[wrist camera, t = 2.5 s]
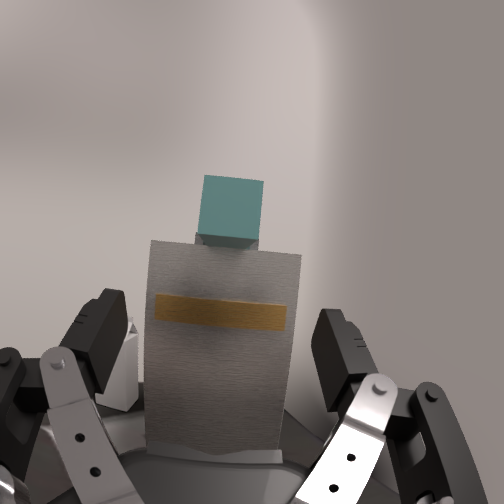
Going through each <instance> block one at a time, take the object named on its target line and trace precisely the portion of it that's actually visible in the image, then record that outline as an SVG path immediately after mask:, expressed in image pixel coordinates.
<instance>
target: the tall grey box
mask: <svg viewBox="0 0 504 504" xmlns="http://www.w3.org/2000/svg"><path fill="white" fill-rule="evenodd" d="M197 233H198V232H196V235H195V244H186V243H176V242H165V241H155V240H151V247H150V257H149V267H148V278H147V292H146V308H145V329H144V411H145V431H146V446H147V448H148V443H149V440H152V441H158V442H164V443H171V444H178V445H183V446H186V447H189V448H191V449H194V450H198V451H201V452H204V453H207V454H210V455H223V454H230V453H235V452H241V451H246V450H277V447H278V441H279V435H280V429H281V423H282V417H283V410H284V403H285V397H286V390H287V383H288V375H289V368H290V360H291V352H292V344H293V335H294V327H295V317H296V308H297V299H298V289H299V278H300V267H301V255H298V254H288V253H278V252H267V251H258V244H259V239H258V240H257V241H256V242H254V243H253V244H252V245H251V246H249V247H248V248H247V249H237V248H227V247H217V246H207V245H206V244H205V242H204V241H203V240H202V239H201V237H200V236H199V235H198V234H197Z"/></svg>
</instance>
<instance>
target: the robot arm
mask: <svg viewBox="0 0 504 504" xmlns="http://www.w3.org/2000/svg"><path fill="white" fill-rule="evenodd" d="M127 330H128V317H127V311H126V303H125V296H124V292H123V291H121V290H114V289H107V288H105V289H104V290H103V292H102V293H101V295H100V297H99V298H98V299H92V300H90V301H89V302H88V303H86V304H85V305H84V306H83V307H82V309H81V311H80V312H79V314H78V316H77V317H76V318H75V320H74V322H73V323H72V325H71V326H70V328H69V329H68V331H67V333H66V334H65V336H64V338H63V339H62V341H61V343H60V345H59V346H58V347H53V348H50V349H48V350H47V351H46V352H44V354H43V355H42V356H41V358H22V357H21V355H20V353H19V351H18V350H16V349H14V348H11V347H7V348H3V349H0V504H31V500H30V495H29V491H28V489H27V487H26V485H25V484H24V480H25V476H26V472H27V468H28V464H29V461H30V457H31V454H32V450H33V447H34V444H35V441H36V438H37V434H38V431H39V428H40V425H41V423H42V420H43V417H44V414H45V413H48V417H49V421H50V424H51V427H52V431H53V434H54V437H55V440H56V443H57V446H58V448H59V451H60V454H61V456H62V459H63V462H64V464H65V467H66V469H67V472H68V474H69V476H70V479H71V481H72V483H73V485H74V486H73V487H72V488H70V489H69V490H67V491H66V492H64V493H63V494H61V495H60V496H58V497H56V498H55V499H53V500H52V501H50V502H48V503H47V504H355V503H356V501H357V500H358V498H359V496H360V494H361V492H362V490H363V488H364V486H365V484H366V482H367V480H368V478H369V476H370V474H371V472H372V469H373V467H374V465H375V463H376V460H377V458H378V456H379V454H380V451H381V449H382V447H383V444H384V441H385V439H386V442H387V446H388V450H389V453H390V457H391V461H392V465H393V469H394V473H395V477H396V481H397V486H398V490H399V495H400V499H401V504H488V502H487V498H486V495H485V492H484V489H483V486H482V483H481V480H480V477H479V474H478V471H477V468H476V465H475V463H474V460H473V458H472V455H471V452H470V450H469V447H468V445H467V443H466V440H465V437H464V435H463V432H462V430H461V428H460V425H459V423H458V421H457V418H456V416H455V414H454V412H453V410H452V407H451V405H450V403H449V401H448V399H447V397H446V395H445V393H444V391H443V390H442V388H441V387H439V386H438V385H436V384H434V383H432V382H423V383H421V384H420V385H419V386H418V387H417V388H416V390H415V391H414V390H407V389H402V388H397V386H396V384H395V383H394V382H393V380H391V379H390V378H389V377H387V376H385V375H383V374H379V373H378V370H377V368H376V366H375V363H374V361H373V359H372V357H371V354H370V352H369V350H368V348H366V343H365V341H364V340H363V337H362V335H361V333H360V330H359V329H358V328H357V327H356V326H355V325H354V324H353V323H352V322H348V321H347V322H346V320H345V318H344V315H343V313H342V311H341V310H340V309H322V310H321V312H320V314H319V318H318V321H317V324H316V327H315V330H314V333H313V336H312V341H311V348H312V353H313V357H314V361H315V365H316V368H317V372H318V376H319V380H320V384H321V388H322V392H323V395H324V400H325V404H326V408H327V412H338V416H339V420H338V422H337V424H336V425H335V427H334V429H333V430H332V432H331V434H330V435H329V437H328V439H327V440H326V442H325V444H324V445H323V447H322V448H321V450H320V451H319V453H318V454H317V456H316V457H315V459H314V460H313V462H312V463H311V464H310V466H309V467H306V466H304V465H302V464H301V463H298V462H296V461H293V460H290V459H286V458H282V451H281V450H246V451H241V452H235V453H230V454H223V455H210V454H207V453H204V452H201V451H198V450H194V449H191V448H189V447H186V446H183V445H178V444H171V443H164V442H158V441H152V440H149V443H148V448H140V449H134V450H130V451H127V452H125V453H122V454H120V455H119V453H118V451H117V449H116V448H115V446H114V444H113V442H112V440H111V438H110V436H109V434H108V432H107V430H106V428H105V426H104V424H103V422H102V419H101V417H100V415H99V413H98V411H97V408H96V406H95V404H94V401H93V399H92V396H93V394H94V393H98V394H102V395H103V394H104V391H105V389H106V386H107V383H108V380H109V378H110V375H111V372H112V370H113V367H114V365H115V362H116V359H117V357H118V354H119V352H120V349H121V347H122V344H123V342H124V339H125V337H126V334H127ZM11 403H12V404H11ZM10 405H11V406H10ZM9 407H10V408H9ZM8 410H9V411H8ZM7 412H8V413H7ZM6 415H7V416H6ZM419 432H421V435H422V438H423V441H424V443H425V447H426V451H425V448H424V445H423V442H422V439H421V436H420V433H419Z"/></svg>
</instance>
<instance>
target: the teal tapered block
mask: <svg viewBox="0 0 504 504" xmlns="http://www.w3.org/2000/svg"><path fill="white" fill-rule="evenodd" d="M262 194H263V181H259V180H250V179H241V178H231V177H222V176H210V175H205V176H204V184H203V191H202V199H201V208H200V216H199V224H198V233H197V234H198V235H199V236H200V237H201V239H202V240H203V241H204V242H205V244H206V245H207V246H217V247H227V248H237V249H247V248H248V247H249V246H251V245H252V244H253V243H254V242H256V241H257V240H258V238H259V226H260V216H261V205H262Z"/></svg>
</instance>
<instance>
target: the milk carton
mask: <svg viewBox="0 0 504 504" xmlns="http://www.w3.org/2000/svg"><path fill="white" fill-rule="evenodd" d="M127 317H128V330H127V334H126V337H125V339H124V342H123V344H122V347H121V349H120V352H119V354H118V357H117V359H116V362H115V365H114V367H113V370H112V372H111V375H110V378H109V380H108V383H107V386H106V389H105V391H104V394H103V395H102V394H98V393H95V397H96V403H97V404H100V405H103V406H107V407H110V408H114V409H118V410H122V411H126V412H127V411H128V410H129V409H130V408H131V406H132V405H133V404H134V403H135V402H136V400H137V399H138V332H137V330H136V328H135V326H134V324H133V317H129V316H127Z"/></svg>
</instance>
